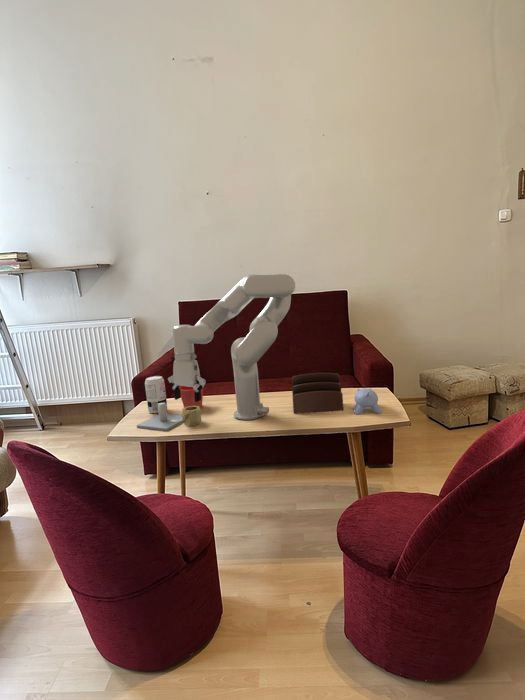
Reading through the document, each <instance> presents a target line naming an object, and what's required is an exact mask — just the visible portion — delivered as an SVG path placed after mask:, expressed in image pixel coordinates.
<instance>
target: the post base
mask: <svg viewBox="0 0 525 700" xmlns="http://www.w3.org/2000/svg"><path fill="white" fill-rule="evenodd" d="M158 410H159V413H158V414H157V415H156V414H155V415H154V416H152V417H150V418H149V419H146V420H144V421H143V422H141V423H139V424H136V428H137V427H139V428H138V429H144V428H146V429H147V430H153V429H155V430H156V431H161V430H163V432H168V431H170V430H172V429H174V428H175V427H177V426H179V425H181V424H182V422H183V423H184V420H182V415H183V414H174V413H173V414H172V413H167V410H166V403H159V404H158ZM180 423H181V424H180ZM178 424H179V425H178ZM173 427H174V428H173ZM171 428H172V429H171ZM146 429H145V430H146ZM155 430H154V431H155Z"/></svg>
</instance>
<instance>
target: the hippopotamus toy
mask: <svg viewBox="0 0 525 700" xmlns="http://www.w3.org/2000/svg"><path fill="white" fill-rule="evenodd" d="M354 401H355V404H354V406H353V407H352V411H354V410H355V411H354V412H353V413H354V414H355V415H362V414H363V413H364V411H365V409H367V408H368V409H369V408H371V410H372V412H373V413H375V414H381V413H383V410H382V409H381V406H380V405H379V403H378V402H379V396H378V394H377V393H376V391H375V390H373V389H372V388H365V387H364V388H361V389H360V388H357V390H356V393H355V395H354Z"/></svg>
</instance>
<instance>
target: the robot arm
mask: <svg viewBox="0 0 525 700" xmlns="http://www.w3.org/2000/svg"><path fill="white" fill-rule="evenodd" d="M295 290H296V282H295V280H294V278H293V277H292V276H290V275H289V274H285V273H284V274H282V273H281V274H280V273H279V274H247V275H246V276H244V277H242V278H241V280H240V281H238V282H237V283H236V284H235V285H234V286H233V287H232V288H231V289H230V290H229V291H228V292H227V293H226V294H225V295H224V296H223V297H222V298H221V299H220V300H219V301H217V303H216V304H215V305H213V307H212V308H211V309H210V310H209V311H208V312H206V313H205V314H204V315H203V317H201V318H200V319H199V320H198V321H197V322H196V323H195V324H194V325H191V324H179V325H175V326H173V328H172V337H173V349H174V351H173V353H174V361H173V368H172V372H173V373H172V375H171V376H169V377H168V378H167V380H168V383H169V385H170V387H171V389H172V390H173V394H174V395H173V396H174V400H176V401H177V400H179V399H181V391H180V388H179V387H181V386H186V387H193V388H194V390H195V391H196V392H195V393H194V394H195V402H198V401H200V400H201V390H202V389H203V390H204V387H205V385H206V379H205V378H202V377H201V374H200V368H199V364H198V360H196V359H197V354H196V353H195V346H194V344H197V345H198V344H200V345H206V344H208V343H209V344H210V342H212V340H213V338H214V332H215V331H217V329H219V328H220V327H221V326H222V325H223V324H225V322H228V321H229V320H231V319H233V318H235V317H236V316H238V315H239V314H240V313H241V312H242V310H243V309H245V307H247V306H248V305H249V304H250V303H251V302H252V300H254V299H259V298H260V299H261V298H262V299H268V298H269V300H268V302H267V303H266V305H264V308H263V309H262V310H261V312H259V314H257V315H256V317H255V318H254V319H253V320H252V322H250V325H249V332H248V333H247V334H246V336H245V337H239V338H237V339H236V340H234V341H233V342H232V344H231V347H230V354H231V360H232V368H233V369H232V370H233V377H234V389H235V400H236V410H235V411H234V413H233V418H234V419H237V420H242V421H247V420H248V421H250V420H251V421H252V420H256V419H259V418H262V417H263V416H265V414H269V412H270V407H269V406H264V405H263V404H264V403H263V402H261V397H260V384H259V370H258V363H257V362H258V361H259V360H260V359H261V358H262V357H263V356H264V355H265V353H266V352H267V351H268V350H269V348H270V347H271V346H272V345H273V343H274V342H275V341H276V339H277V337H278V332H279V331H278V330H279V329H278V326H279V325H280V323H282V321H283V319H284V318H285V317H286V315H287V314H288V312H289V310H290V308H291V301H292V294H293V293H294V291H295ZM199 384H200V385H199ZM196 386H197V387H196Z"/></svg>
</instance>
